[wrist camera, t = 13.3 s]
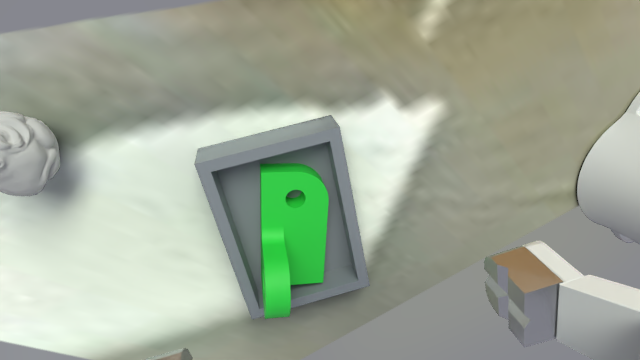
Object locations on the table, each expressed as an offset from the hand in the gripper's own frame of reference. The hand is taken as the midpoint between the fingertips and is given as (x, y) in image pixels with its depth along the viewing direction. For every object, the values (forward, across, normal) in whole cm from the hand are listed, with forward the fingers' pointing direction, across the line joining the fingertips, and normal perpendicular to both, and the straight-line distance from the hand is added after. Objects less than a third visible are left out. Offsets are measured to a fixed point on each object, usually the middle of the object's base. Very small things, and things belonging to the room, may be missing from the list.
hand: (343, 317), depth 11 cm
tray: (+27, +2, +12) cm, 30 cm away
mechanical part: (+27, +1, +12) cm, 30 cm away
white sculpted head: (+28, +19, -1) cm, 34 cm away
